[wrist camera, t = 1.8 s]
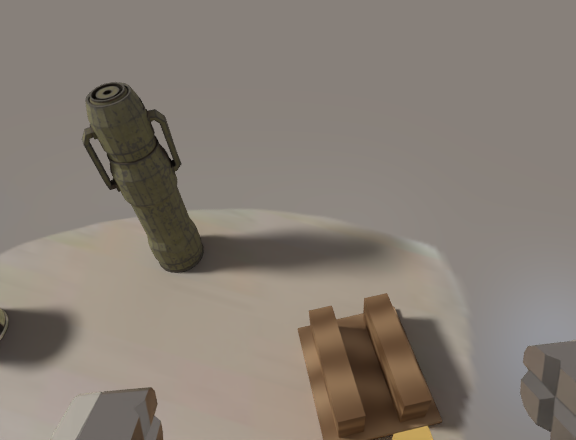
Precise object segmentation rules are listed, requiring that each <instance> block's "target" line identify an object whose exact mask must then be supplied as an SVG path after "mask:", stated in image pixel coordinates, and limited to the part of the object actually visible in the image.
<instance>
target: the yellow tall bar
mask: <svg viewBox="0 0 576 440" xmlns="http://www.w3.org/2000/svg"><path fill="white" fill-rule="evenodd" d="M392 440H433V438H432V435H431V433H430V430H429V428H428V426H424V427H420V428H416V429H412V430H407V431H403V432H399V433H395V434H393V437H392Z"/></svg>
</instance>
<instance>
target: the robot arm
mask: <svg viewBox="0 0 576 440" xmlns="http://www.w3.org/2000/svg"><path fill="white" fill-rule="evenodd" d="M523 363H524V365H525V366H526V367H527V368H528V370H529V371H528V372H527V373H526V374H525V375H524V377H523V378H522V379H521V389H520V394H521V398H522V401H523V405H524V407H525V409H526V411H527V413H528V415H529V416H530V417H531V419H532V420H533V421H534V422H535V424H536V425H538V426H540V427H542V428H544V429H546V430H548V431H549V432H551V439H550V440H576V340H572V341H568V342H559V343H551V344H542V345H534V346H528V347H527V348H526V350H525V352H524V358H523ZM156 407H157V399H156V395H155V391H154V390H153V389H152V388H151V387H149V388H138V389H126V390H115V391H104V392H95V393H85V394H79V395H78V396H76V397H75V398H74V399H73V401H72V402H71V404H70V406H69V407H68V409H67V411H66V413H65V414H64V416H63V418H62V419H61V421H60V423H59V425H58V426H57V428H56V430H55V431H54V433H53V435H52V437H51V438H50V440H163V431H162V425H161V421H160V420H159V419H158V418H157V417H155V416H154V414H155V411H156Z"/></svg>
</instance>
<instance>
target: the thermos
mask: <svg viewBox="0 0 576 440" xmlns="http://www.w3.org/2000/svg"><path fill="white" fill-rule="evenodd" d="M86 108H87V115H88V120H89V122H90V127H89V128H86V129H84V133H83V137H82V141H83V144H84V146H85V148H86V150H87V152H88V153H89V155H90V157H91V159H92V161H93V162H94V164H95V166H96V168H97V169H98V171H99V173H100V175H101V177H102V179H103V180H104V182H105V184H106V185H107V186H108V188H109V189H110V190H112V189H115V188H117V190H118V191H119V192H120V191H121V193H122V195H123V196H124V198H125V200H126V201H127V202H129V203H130V204H131V205H132V207H133V209H134V211H135V213H136V215H137V217H138V218H139V220H140V222H141V224H142V226H143V228H144V230H145V232H146V234H147V237H148V243H149V246H150V248H151V250H152V252H153V254H154V256H155V258H156V259H157V260H158V261H159V263H160V265H161V267H162V268H163V269H165V270H166V271H169V272H175V273H179V272H184V271H187V270H189V269H191V268H193V267H194V266H195V265H196V264H198V262H199V261H200V260H201V258H202V255H203V245H202V244H201V238H200V235H199V233H198V230H197V228H196V226H195V224H194V223H193V221H192V220H191V219H190V218H189V216H188V213H187V210H186V208H185V205H184V203H183V201H182V198H181V195H180V193H179V190H178V188H177V177H176V174H175V171H177V170H178V168H179V167H180V165H181V162H180V159H179V156H178V154H177V152H176V148H175V145H174V143H173V139H172V136H171V133H170V130H169V127H168V124H167V121H166V118H165V116H164V115H162V114H161V113H160V112H158V111H157V110H155V109H154V110H149V111H147V109H145V107H144V105H143V103H142V101H141V99H140V98H139V97H138V95H137V94H136V93H135V92H134V91H133V90H132V88H131V87H130V86H129V85H127V84H125V83H117V82H112V83H106V84H103V85H100V86H99V87H96V88H95V89H94V90H93V91H91V92H90V93H89V94H88V95H87V97H86ZM153 120H155V121H157V122H158V123H160V125H161V128H162V131H163V133H164V136H165V139H166V141H167V144H168V147H169V149H170V152H171V155H172V157H173V160H172V161H171V159H170V158H169V156H168V154H167V152H166V151H165V149H164V148H163V147H162V146H161V145H160V144H159V142H158V140H157V138H156V136H154V129H153V127H152V125H151V121H153ZM93 137H94V139H98V140H99V142H100V143H101V146H102V147H103V149H104V151H106V152H107V157H108V159H109V161H110V170H111V173H112V176H113V180H111V181H110V178H109V177H108V175H107V173H106V171H105V170H104V168H103V166H102V164H101V162H100V160H99V159H98V157H97V155H96V153H95V151H94V149H93V148H92V145H91V144H90V142H89V141H90V140H89V139H90V138H93Z"/></svg>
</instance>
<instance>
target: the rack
mask: <svg viewBox="0 0 576 440" xmlns="http://www.w3.org/2000/svg"><path fill="white" fill-rule="evenodd" d="M309 317H310V326H306V327H301V328H298V333H299V337H300V341H301V346H302V350H303V354H304V358H305V363H306V367H307V371H308V376H309V380H310V384H311V389H312V393H313V397H314V401H315V406H316V410H317V414H318V419H319V423H320V427H321V431H322V436H323V440H373V439H377V438H381V437H385V436H389V435H393V434H395V433H399V432H403V431H407V430H412V429H416V428H420V427H424V426H430V425H434V424H438V423H442V419H441V416H440V414H439V411H438V409H437V407H436V404H435V402H434V400H433V397H432V395H431V393H430V390H429V388H428V385H427V383H426V381H425V378H424V376H423V374H422V371H421V369H420V367H419V364H418V362H417V359H416V357H415V355H414V352H413V350H412V348H411V345H410V343H409V341H408V338H407V336H406V333H405V331H404V329H403V326H402V324H401V322H400V319H399V317H398V315H397V312H396V310H395V307H393V306H392V304H391V301H390V299H389V297H388V294H387V293H386V294H381V295H377V296H373V297H368V298H364V313H363V314H359V315H354V316H350V317H345V318H341V319H337V320H336V318H335V314H334V311H333V308H332V306H328V307H324V308H319V309H315V310H310V311H309Z"/></svg>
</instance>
